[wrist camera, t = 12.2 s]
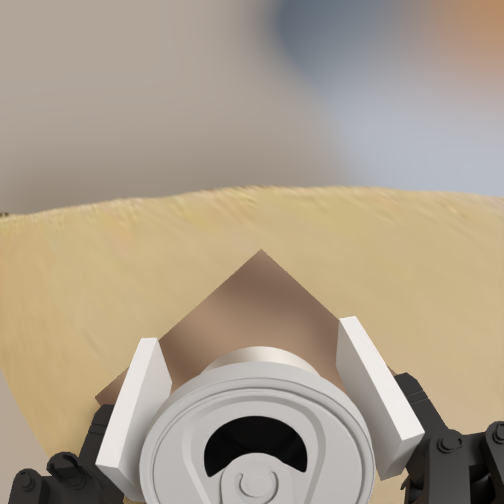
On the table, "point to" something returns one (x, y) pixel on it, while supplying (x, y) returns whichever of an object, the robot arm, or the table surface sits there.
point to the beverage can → (257, 441)
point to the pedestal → (250, 329)
